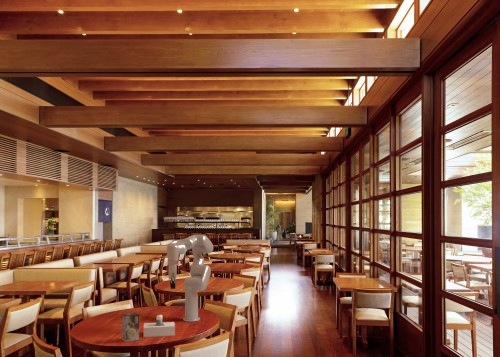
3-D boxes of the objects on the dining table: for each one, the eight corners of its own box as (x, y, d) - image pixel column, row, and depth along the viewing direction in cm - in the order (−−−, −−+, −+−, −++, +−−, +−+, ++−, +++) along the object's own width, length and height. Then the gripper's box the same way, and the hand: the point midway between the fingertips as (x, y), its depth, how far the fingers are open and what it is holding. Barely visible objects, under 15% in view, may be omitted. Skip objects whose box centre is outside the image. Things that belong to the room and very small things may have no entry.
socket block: (143, 332, 320) (144, 323, 321) (174, 330, 324) (174, 321, 325) (143, 337, 309) (143, 327, 309) (174, 335, 313) (174, 326, 313)
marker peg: (156, 333, 318) (156, 315, 319) (162, 333, 319) (162, 314, 320) (156, 334, 314) (156, 316, 315) (162, 334, 315) (162, 316, 316)
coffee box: (135, 337, 308) (135, 312, 309) (139, 339, 302) (139, 314, 303) (121, 340, 302) (121, 314, 303) (125, 342, 297) (125, 316, 298)
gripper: (167, 261, 340) (166, 285, 339) (167, 264, 323) (167, 289, 322) (177, 261, 341) (177, 285, 340) (179, 264, 324) (178, 289, 323)
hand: (172, 287), depth 331 cm, fingers open, 9 cm apart
